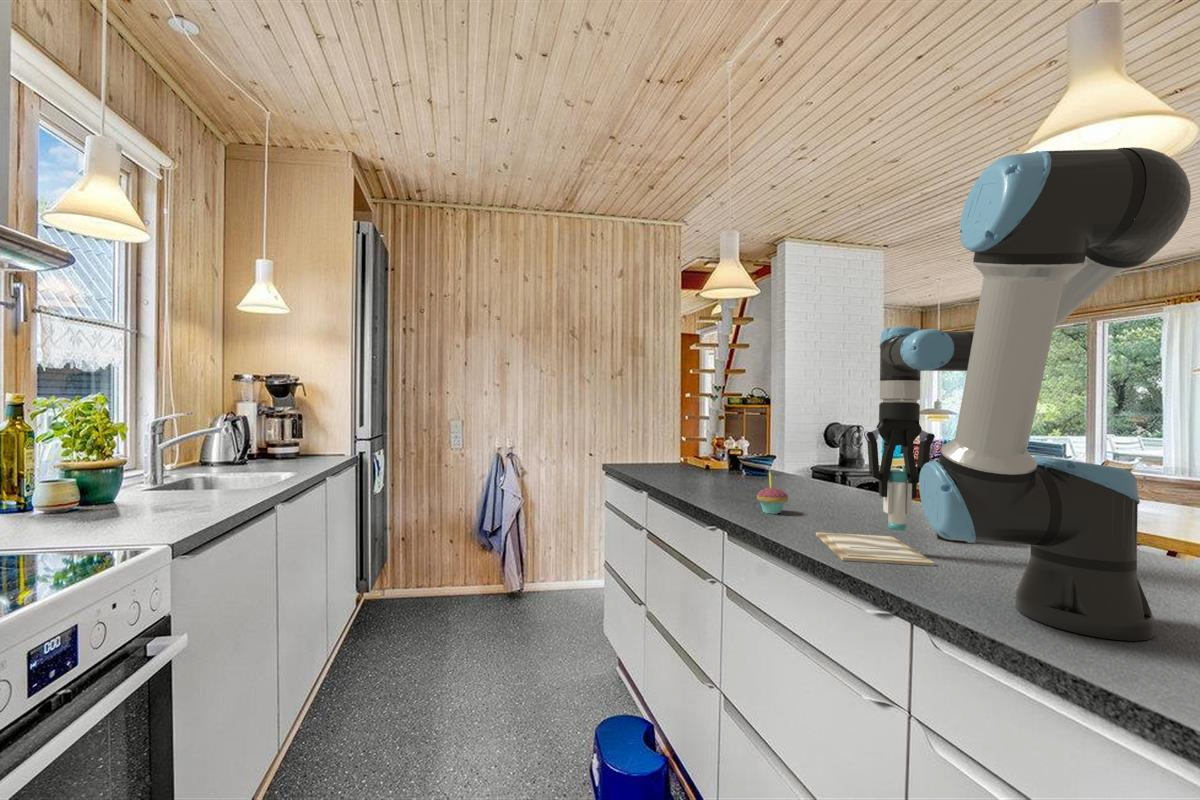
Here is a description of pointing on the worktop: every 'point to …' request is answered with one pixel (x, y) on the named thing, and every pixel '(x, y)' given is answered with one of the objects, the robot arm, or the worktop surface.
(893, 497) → the marker
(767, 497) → the cupcake
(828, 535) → the wooden board
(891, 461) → the robot arm
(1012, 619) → the worktop surface
